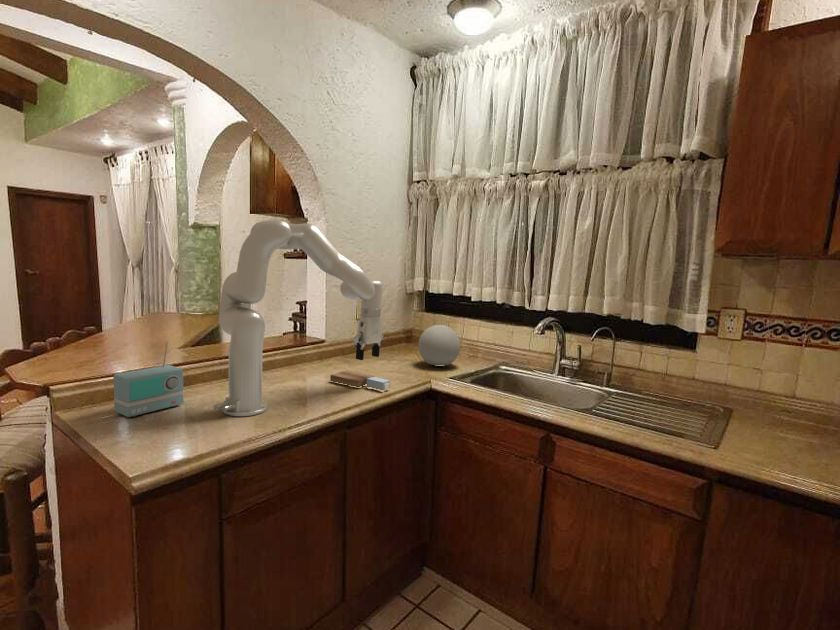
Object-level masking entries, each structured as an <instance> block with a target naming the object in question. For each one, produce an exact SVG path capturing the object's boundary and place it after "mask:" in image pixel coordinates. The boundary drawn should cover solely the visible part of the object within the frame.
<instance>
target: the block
mask: <svg viewBox="0 0 840 630" xmlns="http://www.w3.org/2000/svg"><path fill="white" fill-rule="evenodd" d="M367 387H372V388H376V389H380V390H387V389H389V388H390V387H391V380H390V379H386V378H380V377H376V376H375V377H371V378H367V386H366V388H367ZM390 389H391V388H390Z"/></svg>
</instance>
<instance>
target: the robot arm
mask: <svg viewBox="0 0 840 630" xmlns="http://www.w3.org/2000/svg"><path fill="white" fill-rule="evenodd" d="M276 250H301V251H303V252H304V253H305V254H306V255H307V256H308V257H309V258H310V259H311V260H312V262H313V263H314V264H315V265H316V266H317V267H318V268H319V269H320V270H321V271H322V272H324V273H325V274H328V275H330V276H332V277H334V278H337V279H339V280H340V281H342V283H341V284H340V286H339V288H340V289H339V291H340V293H341V295H342V296H343V297H344V298H347V299H349V300H356V301H360V302H361V304H360V315H359V316H360V317H359V320H358V325H357V333H356V335H355V336H354V337H352V341H353V344H354V345H353V346H354V347H355V349H356V350H355V359H356V360H359V361H363V360H364V358H365V357H364V356H365V355H364V354H365V349H364V347H366V345H372V346H371V347H372V348H371V356H372V357H375V358H379V357H380V347H381V345H382V343H383V340H384V336H385V335H384V334H383V321H382V317H381V313H382V300H383V299H382V297H383V282H382V281H379V280H371V279H370V277H369V276H368V275H367V274H366V273H365V272H364V271H363V270H362V269H361V268H360V267H359V266H358V265H356V264H355V263H354V262H352V261H351V260H350V259H348V258H347V257H345V256H344V255H342V253H340V252H339V251H338V249H336V247H335V246H334V245H333V244H332V243H331V242H330V241H329V239H328V238H327V237H326V236H325V235H324V233H322V231H321V230H320V229H319V228H318V227H317V226H316V225H315V224H312V223H310V222H309V223H296V224H294V223H292V224H291V223H288V222H286V221H284V220H281V219H270V220H262V221H259V222H256V223H254V225H252V227H251V228H250V232H249V235H248V236H247V237H246V238H245V240H244V241H243V243H242V245H241V248H240V251H239V255H238V261H237V268H236V271H235V272H232V273H230V274H229V275H227V277H226V278H225V280H224V282H223V284H222V287H221V288H222V289H221V295H220V301H219V303H220V304H219V312H218V313H219V314H218V322H219V323H218V324H219V326H220V329H221V330H222V331H223V332H224V333H226V334H228V335H230V342H229V347H228V396H226V397H225V400H223V402H218V403H216V404H213V410H214V411H215V412H217V411H220V410H222V412H223V413H224V414H225V415H227V416H230V417H231V416H232V417H250V416H256V415H260V414H262V413H264V412H265V411H267V409H268V404H267V402H265V401H263V346H264V339H265V332H266V323H265V320H264V317H263V316H262V315H261V313H259V312H258V310H257V311H256V310H255V309H252V305H254V304H255V305H256V304H257V303H259V302H261V301H262V300H263V299H264V297H265V293H266V287H267V277H268V269H269V265H270V264H269V263H270V260H271V257H272V255H273V254H274V252H276Z"/></svg>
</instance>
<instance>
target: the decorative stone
mask: <svg viewBox="0 0 840 630" xmlns="http://www.w3.org/2000/svg"><path fill="white" fill-rule="evenodd" d="M460 351H461V341H460V337H459V336H458V333H457V332H456V331H455V330H454V329H452V328H451V327H449V326H447V325H444V324H435V325H431V326H428V327H427V328H426V329H425V330H423V332H422V333H421V335H420V337H419V339H418V352H419V355H420V357H421V359H422V360H423V361H424V362H425V363H426V364H428V365H430V364H431V365H430V366H432V365H447V366H449V365H451V364H453V362H455V360H457V358H458V357H459V355H460Z"/></svg>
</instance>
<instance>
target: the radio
mask: <svg viewBox="0 0 840 630" xmlns="http://www.w3.org/2000/svg"><path fill="white" fill-rule="evenodd" d="M168 343H169V341H168V340H167V341H166V342H165V348H164V349H165V350H164V356H163V357H164V358H163V365H161V366H154V367H149V368H145V369H144V368H143V369H137V370H132V371H126V372H118V373H114V374H113V398H114V412H116V413H118V414H120V415H122V416H125V417H126V418H137V417H138V416H139V415H144V414H146V413H151V412H155V411H159V410H163V409H167V408H170V407H171V408H177V407H178V406H179V405H183V404H184V369H183V368H181V367H178V366H173V365H170V364H167V365H165V363H166V355H167V350H168V349H167V348H168Z"/></svg>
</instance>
